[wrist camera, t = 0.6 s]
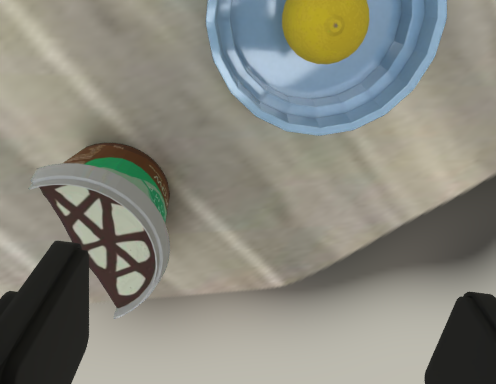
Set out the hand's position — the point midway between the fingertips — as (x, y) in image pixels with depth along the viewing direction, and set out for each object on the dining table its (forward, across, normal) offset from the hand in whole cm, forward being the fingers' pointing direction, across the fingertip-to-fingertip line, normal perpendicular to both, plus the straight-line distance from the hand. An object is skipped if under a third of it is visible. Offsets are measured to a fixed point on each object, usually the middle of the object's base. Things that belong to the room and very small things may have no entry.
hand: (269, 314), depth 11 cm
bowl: (+27, -4, -6) cm, 28 cm away
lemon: (+27, -4, -6) cm, 28 cm away
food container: (+27, +8, +10) cm, 30 cm away
